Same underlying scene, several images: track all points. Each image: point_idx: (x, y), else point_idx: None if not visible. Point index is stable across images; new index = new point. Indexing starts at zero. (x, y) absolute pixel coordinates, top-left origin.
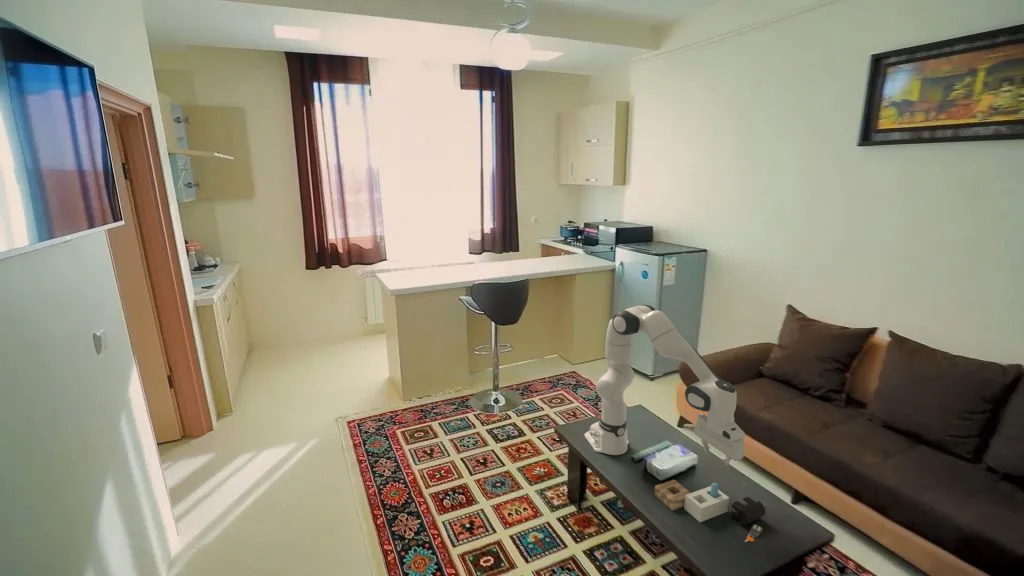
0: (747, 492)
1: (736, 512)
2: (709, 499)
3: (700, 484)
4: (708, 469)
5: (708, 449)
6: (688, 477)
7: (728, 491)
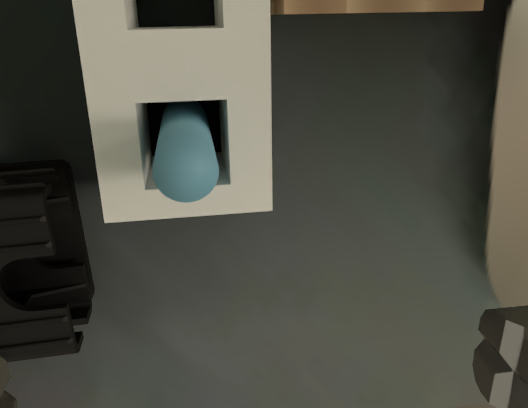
0: (213, 393)
1: (59, 208)
2: (139, 53)
3: (380, 208)
4: (448, 338)
5: (496, 385)
6: (462, 186)
7: (261, 311)
